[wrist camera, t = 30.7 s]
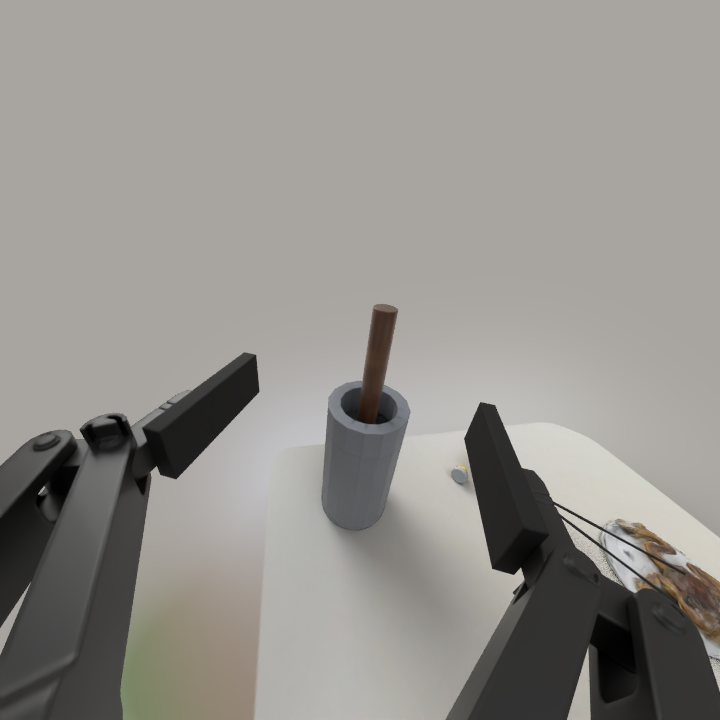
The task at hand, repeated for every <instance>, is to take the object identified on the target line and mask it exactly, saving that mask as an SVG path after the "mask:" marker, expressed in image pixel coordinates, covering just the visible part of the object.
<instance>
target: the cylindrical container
mask: <svg viewBox="0 0 720 720" xmlns="http://www.w3.org/2000/svg"><path fill="white" fill-rule="evenodd" d="M361 388H362V381H356V382H350V383H345V384H344V385H342V386H340V387H338V388H336V389H335V390H334V391H333V392H332V394H331V395H330V396H329V402H328V416H327V429H326V443H325V457H324V471H323V485H322V505H323V508H324V511H325V513H326V514H327V516H328V517H329V518H330V520H331V521H333V522H334V523H335V524H336V525H338V526H340V527H342V528H345V529H349V530H361V529H365V528H367V527H370V526H371V525H373V524H374V523H375V522H376V521H377V520H378V519H379V518H380V516H381V515H382V513H383V510H384V507H385V503H386V500H387V496H388V492H389V489H390V485H391V481H392V478H393V474H394V471H395V467H396V463H397V460H398V456H399V452H400V449H401V445H402V441H403V438H404V434H405V430H406V427H407V423H408V419H409V415H410V409H409V406H408V403H407V401H406V400H405V399H404V398H403V397H402V396H401V395H400V394H399V393H398V392H397V391H395V390H393V389H391V388H390V387H388V386H386V385H383V390H382V396H381V401H380V406H379V411H378V416H377V421H376V425H375V424H364V423H361V422H358V421H357V415H358V409H359V402H360V395H361Z"/></svg>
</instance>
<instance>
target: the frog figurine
mask: <svg viewBox="0 0 720 720" xmlns="http://www.w3.org/2000/svg"><path fill="white" fill-rule="evenodd" d="M603 529H605V530H607V531H609V532H611V533H613V534H615V535H616V536H618V537H620V538H622V539H624V540H626V541H628V542H629V543H631V544H633V545H635V546H637V547H639V548H641V549H642V550H644V551H646V552H648V553H650V554H652V555H654V556H655V557H657V558H659V559H661V560H663V561H665V562H667V563H668V564H670V565H672V566H674V567H676V568H678V569H680V570H681V571H683V572H685V573H686V575H683V574H681V573H679V572H677V571H676V570H674V569H672V568H670V567H668V566H666V565H664V564H663V563H661V562H659V561H657V560H655V559H653V558H652V557H650V556H648V555H646V554H644V553H642V552H641V551H639V550H637V549H635V548H633V547H631V546H630V545H628V544H626V543H624V542H622V541H620V540H619V539H617V538H615V537H613V536H611V535H609V534H608V533H606V532H604V531H602V535H601V536H600V542H601V544H602V546H603V547H604V548H606V549H607V550H608V551H610V552H611V553H612V554H614V555H615V556H616V557H617V558H619V559H620V560H621V561H623V562H624V563H625V564H627V565H628V566H629V567H631V568H632V569H633V570H635V571H636V572H637V573H639V574H640V575H641V576H643V577H644V578H645V579H647V580H648V581H649V582H651V583H652V584H653V585H655V586H656V587H657V588H659V589H660V590H661V591H663V592H664V593H665V594H667V595H668V596H669V597H671V598H672V599H673V600H675V601H676V603H675V604H676V605H677V606H679V607H680V608H681V609H682V610H683V611H684V612H685V613H686V614H687V615H688V617H689V618H690V619H691V620H692V622H693V623H694V624H695V626H696V627H697V629H698V631H699V633H700V635H701V637H702V639H703V641H704V645H705V648H706V651H707V654H708V655H709V656H712V657H715V658H717V659H719V660H720V582H719V581H717V580H716V579H715V578H713V577H712V576H710V575H709V574H707V573H706V572H704V571H702V570H701V569H700V568H698V567H697V566H696V565H695V564H694V563H693V562H692V561H691V560H690V559H689V558H688V557H686V556H685V555H684V554H683V553H682V552H681V551H679V550H677V549H676V548H674V547H672V546H671V545H670V544H668V543H666V542H665V541H663V540H662V539H661V538H659V537H658V536H657V535H655V534H654V533H652V532H650V531H649V530H647V529H646V528H645V526H643V524H640V523H631V522H628V521H625V520H622V519H617V520H615V521H614V522H611V523H608V524H607V525H606V526H605V527H604V528H603ZM603 551H604V550H603ZM604 553H605V556H606V559H607V561H608V563H609V565H610V567H611V568H612V570H613V571H614V573H615V574H616V575H617V577H618V578H619V580H620V581H621V582H622V583H623V585H624V586H625V587H626V588H627V589H628V590H630V591H632V592H634V593H636V592H637V591H639V590H641V589H642V588H648V589H653V590H655V589H654V588H653V587H651V586H650V585H649V584H647V583H646V582H645V581H643V580H642V579H641V578H639V577H638V576H637V575H636V574H634V573H633V572H632V571H630V570H629V569H628V568H626V567H625V566H624V565H622V564H621V563H620V562H618V561H617V560H616V559H614V558H613V557H612V556H611V555H609V554H608V553H607V552H605V551H604ZM655 591H657V590H655ZM657 592H658V591H657Z"/></svg>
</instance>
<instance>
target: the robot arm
mask: <svg viewBox="0 0 720 720" xmlns="http://www.w3.org/2000/svg"><path fill="white" fill-rule="evenodd" d="M258 393H259V382H258V371H257V360H256V355H254V354H249V353H243V354H242V355H240V356H239V357H237V358H236V359H235V360H233V361H232V362H231V363H229V364H228V365H227V366H225V367H224V368H222V369H221V370H220V371H218V372H217V373H216V374H214V375H213V376H212V377H210V378H209V379H207V380H206V381H205V382H203V383H202V384H201V385H200V386H198V387H197V388H195V389H194V390H193V391H190V390H187V391H185V392H182V393H180V394H177V395H175V396H174V397H172V398H171V399H170V400H168V401H167V402H166V403H164V404H162V405H161V406H160V407H159V408H158V409H155V410H154V411H153V412H151V413H150V414H148V415H147V416H145V417H144V418H143V419H141V420H140V421H138V422H137V423H135V424H134V425H133V426H131V427H130V424H129V422H128V420H127V417H126V416H125V415H123V414H120V413H110V414H105V415H101V416H98V417H96V418H94V419H92V420H90V421H88V422H87V423H85V424H84V425H83V426H82V427H81V428H80V432H81V433H82V435H83V437H84V439H75V438H74V436H73V435H72V433H71V432H70V431H67V430H56V431H50V432H47V433H43V434H41V435H39V436H37V437H35V438H32V439H31V440H29V441H28V442H27V443H25V444H24V445H23V446H21V447H20V448H19V449H18V450H17V451H16V452H15V453H14V454H13V455H12V456H11V457H10V458H9V459H7V460H6V461H5V462H4V463H3V464H2V465H1V466H0V627H1V626H2V624H3V623H4V621H5V620H6V618H7V617H8V615H9V614H10V612H11V611H12V609H13V608H14V606H15V605H16V603H17V602H18V600H19V599H20V597H21V596H22V594H23V593H24V591H25V590H26V588H27V587H28V585H29V584H30V582H31V584H30V586H29V588H28V591H27V593H26V596H25V598H24V600H23V603H22V605H21V608H20V610H19V613H18V615H17V617H16V619H15V622H14V624H13V627H12V629H11V632H10V634H9V636H8V638H7V641H6V643H5V646H4V648H3V650H2V653H1V655H0V720H123V719H122V718H123V717H122V716H123V712H122V703H121V698H120V686H121V678H122V671H123V665H124V657H125V652H126V644H127V638H128V631H129V625H130V618H131V611H132V605H133V598H134V591H135V584H136V578H137V571H138V564H139V558H140V551H141V544H142V538H143V531H144V524H145V518H146V510H147V503H148V497H149V491H150V484H151V473H150V472H151V471H152V470H153V469H154V468H155V467H156V466H157V467H158V470H159V472H160V475H163V476H167V477H170V478H173V479H177V478H178V477H179V476H180V475H181V474H182V473H183V472H184V471H185V470H186V469H187V467H188V466H189V465H190V464H191V463H192V462H193V461H194V460H195V459H196V458H197V457H198V456H199V455H200V454H201V453H202V452H203V451H204V450H205V448H207V446H208V445H209V444H210V443H211V442H212V441H213V440H214V439H215V438H216V437H217V436H218V435H219V434H220V433H221V432H222V431H223V430H224V428H226V426H227V425H228V424H229V423H230V422H231V421H232V420H233V419H234V418H235V417H236V416H237V415H238V414H239V413H240V412H241V411H242V410H243V408H244V407H245V406H246V405H247V404H248V403H249V402H250V401H251V400H252V399H253V398H254V397H255V396H256V395H257V394H258ZM464 440H465V444H466V449H467V454H468V458H469V463H470V468H471V472H472V477H473V482H474V486H475V491H476V495H477V500H478V505H479V509H480V514H481V519H482V523H483V528H484V533H485V537H486V542H487V546H488V551H489V556H490V560H491V565H492V569H495V570H498V571H502V572H505V573H509V574H512V575H514V574H515V573H516V572H517V571H518V570H519V569H520V568H521V569H522V572H523V575H524V579H525V580H524V581H523V582H522V584H521V585H520V586H519V587H518V588H517V589H516V590H515V591H514V592H513V594H514V595H515V596H514V598H513V600H512V601H511V603H510V605H509V607H508V609H507V610H506V612H505V614H504V616H503V618H502V619H501V621H500V623H499V625H498V627H497V628H496V630H495V632H494V634H493V635H492V637H491V639H490V641H489V643H488V644H487V646H486V648H485V650H484V652H483V653H482V655H481V657H480V659H479V661H478V662H477V664H476V666H475V668H474V669H473V671H472V673H471V675H470V677H469V678H468V680H467V682H466V684H465V686H464V687H463V689H462V691H461V693H460V695H459V696H458V698H457V700H456V702H455V704H454V705H453V707H452V709H451V711H450V712H449V714H448V716H447V718H446V720H567V717H568V714H569V710H570V707H571V703H572V700H573V697H574V693H575V690H576V686H577V683H578V679H579V676H580V673H581V669H582V666H583V662H584V659H585V656H586V652H587V649H588V646H589V678H590V711H591V720H720V691H719V688H718V685H717V682H716V679H715V676H714V672H713V669H712V666H711V663H710V660H709V657H708V654H707V651H706V648H705V645H704V641H703V639H702V637H701V635H700V633H699V631H698V629H697V627H696V626H695V624H694V623H693V622H692V620H691V619H690V618H689V617H688V615H687V614H686V613H685V612H684V611H683V610H682V609H681V608H680V607H679V606H677V605H676V604H675V603H674V602H673V601H671V600H670V599H669V598H667V597H666V596H664V595H663V594H661V593H659V592H657V591H655V590H653V589H648V588H642V589H641V590H639V591H637V592H636V593H634V592H632V591H630V590H628V589H627V588H625V587H623V586H621V585H619V584H618V583H616V582H614V581H612V580H610V579H609V578H607V577H605V576H604V575H602V574H601V572H600V570H599V569H598V568H597V566H596V565H595V564H594V562H593V561H592V560H591V559H590V558H589V557H588V556H587V555H585V554H584V553H583V552H581V551H580V550H578V549H577V548H576V547H575V545H574V543H573V541H572V539H571V537H570V535H569V533H568V531H567V529H566V527H565V525H564V523H563V521H562V519H561V517H560V515H559V513H558V511H557V508H556V507H555V506H554V505H555V504H554V502H553V500H552V498H551V497H550V496H549V495H550V494H549V492H548V490H547V488H546V486H545V484H544V482H543V481H542V480H541V479H540V478H539V476H538V475H537V474H536V473H535V472H534V471H532V470H528V469H524V468H521V465H520V463H519V461H518V458H517V456H516V454H515V451H514V449H513V447H512V444H511V442H510V439H509V437H508V435H507V432H506V430H505V428H504V425H503V423H502V421H501V419H500V416H499V414H498V412H497V409H496V407H495V405H491V404H487V403H482V402H480V404H479V406H478V408H477V411H476V413H475V415H474V418H473V420H472V422H471V425H470V427H469V429H468V431H467V434H466V436H465V438H464ZM43 486H45V487H46V488H45V489H44V490H43V492H42V493H41V494H39V495H38V493H39V492H40V490H41V489H42V488H43Z"/></svg>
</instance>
